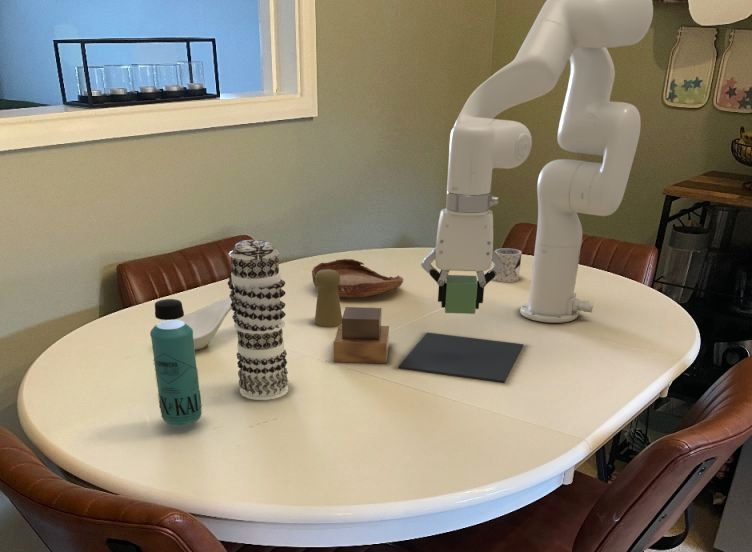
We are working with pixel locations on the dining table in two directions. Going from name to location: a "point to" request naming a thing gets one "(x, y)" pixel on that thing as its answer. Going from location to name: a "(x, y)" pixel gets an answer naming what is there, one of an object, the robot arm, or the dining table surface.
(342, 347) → the oak block
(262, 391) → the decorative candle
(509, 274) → the mug
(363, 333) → the walnut block
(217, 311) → the spoon rest
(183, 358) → the beverage bottle
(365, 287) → the wooden bowl
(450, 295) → the green block
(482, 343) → the mat
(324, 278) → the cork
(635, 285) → the dining table surface
